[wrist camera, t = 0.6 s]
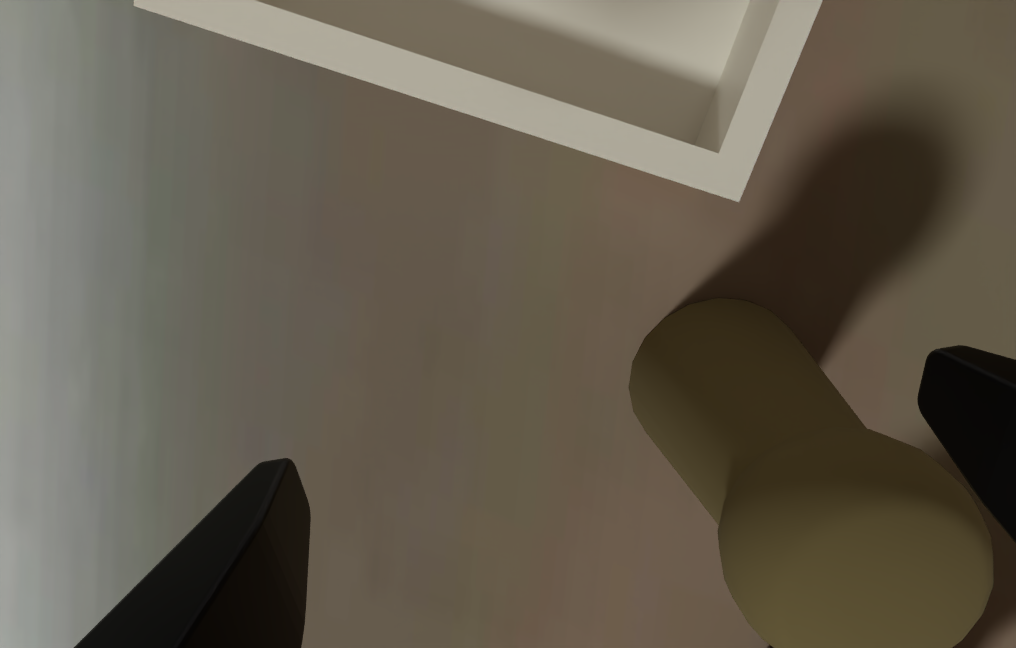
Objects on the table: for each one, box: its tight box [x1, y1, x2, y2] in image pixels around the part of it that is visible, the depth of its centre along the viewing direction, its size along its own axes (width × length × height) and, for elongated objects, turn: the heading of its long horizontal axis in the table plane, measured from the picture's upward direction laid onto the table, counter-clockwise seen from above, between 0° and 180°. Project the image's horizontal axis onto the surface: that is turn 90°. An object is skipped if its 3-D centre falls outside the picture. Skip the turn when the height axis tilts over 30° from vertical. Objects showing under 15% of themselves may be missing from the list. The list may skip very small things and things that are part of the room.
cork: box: [629, 298, 994, 648], centre depth 17 cm, size 6×6×11 cm
